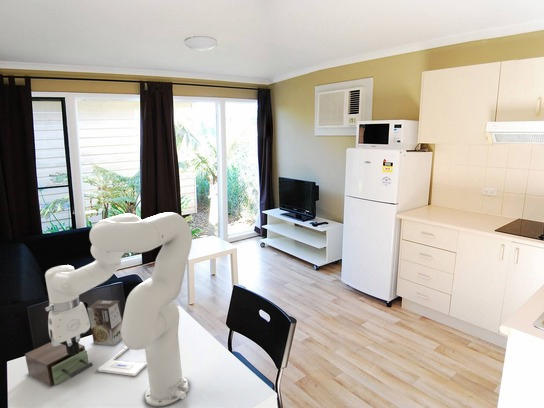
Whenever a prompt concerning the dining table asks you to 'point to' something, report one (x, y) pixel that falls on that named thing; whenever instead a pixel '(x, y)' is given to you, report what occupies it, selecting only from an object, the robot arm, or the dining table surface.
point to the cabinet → (46, 361)
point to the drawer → (70, 366)
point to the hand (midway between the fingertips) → (73, 353)
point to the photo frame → (122, 366)
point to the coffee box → (105, 322)
